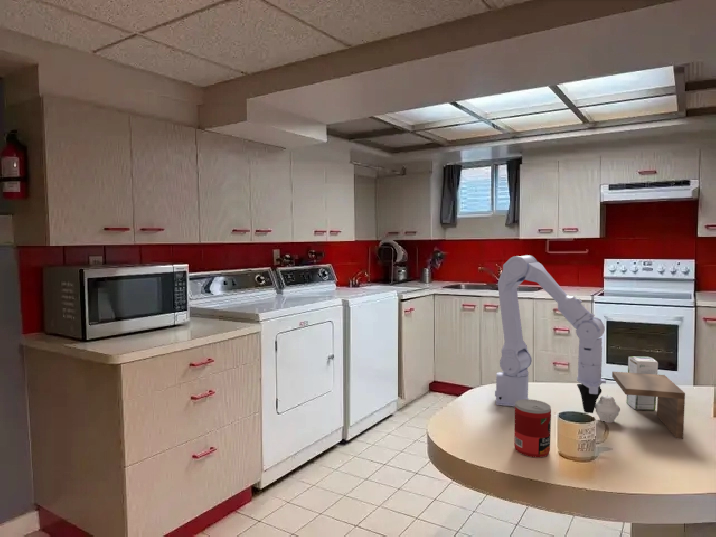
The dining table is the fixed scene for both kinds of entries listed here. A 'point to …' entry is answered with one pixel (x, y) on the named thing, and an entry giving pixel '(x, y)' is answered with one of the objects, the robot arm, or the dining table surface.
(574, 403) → the dining table surface
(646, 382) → the walnut shelf
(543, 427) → the canned food
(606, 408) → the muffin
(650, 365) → the syrup box
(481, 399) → the dining table surface
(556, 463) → the dining table surface
